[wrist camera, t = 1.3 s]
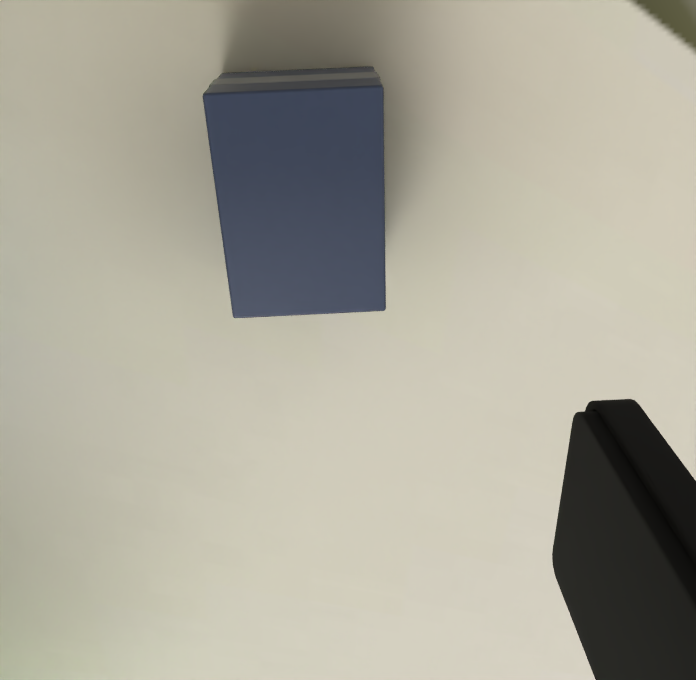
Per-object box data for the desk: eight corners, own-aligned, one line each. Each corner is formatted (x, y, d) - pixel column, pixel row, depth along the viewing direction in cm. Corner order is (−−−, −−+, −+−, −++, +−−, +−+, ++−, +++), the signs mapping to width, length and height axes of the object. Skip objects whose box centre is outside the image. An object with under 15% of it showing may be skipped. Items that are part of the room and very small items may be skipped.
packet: (220, 72, 22) (200, 92, 18) (373, 65, 22) (384, 84, 18) (244, 270, 25) (232, 319, 22) (377, 264, 25) (386, 312, 22)
